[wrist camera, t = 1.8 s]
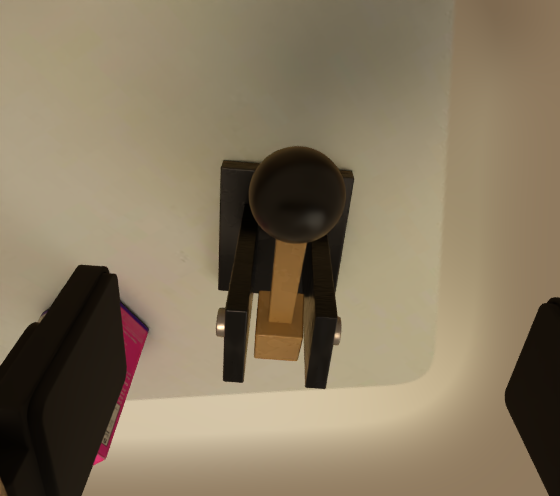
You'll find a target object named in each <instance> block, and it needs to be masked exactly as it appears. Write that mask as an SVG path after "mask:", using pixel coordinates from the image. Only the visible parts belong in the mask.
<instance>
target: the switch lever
mask: <svg viewBox="0 0 560 496" xmlns="http://www.w3.org/2000/svg"><path fill="white" fill-rule="evenodd" d="M345 201H346V190H345V184H344V180H343V177H342V175H341V173H340V171H339V169H338V168H337V166H336V165H335V164H334V162H333V161H332V160H331V159H330V158H328V157H327V156H326V155H325V154H323V153H321V152H319V151H317V150H315V149H312V148H308V147H303V146H292V147H287V148H283V149H280V150H277V151H275V152H274V153H272V154H271V155H269V156H268V157H266V158H265V159H264V160H263V161H262V162H261V163H260V165H259V166H258V167H257V169H256V170H255V172H254V174H253V176H252V179H251V182H250V187H249V204H250V208H251V211H252V214H253V216H254V218H255V220H256V222H257V223H258V225H259V226H260V227H261V228H262V229H263V230H264V231H265V232H266V233H267V234H269V235H270V236H272V237H273V238H275V239H276V242H275V252H274V263H273V273H272V283H271V291H259V296H258V308H257V319H256V331H255V348H254V358H261V359H274V360H288V361H297V360H298V356H299V352H300V348H301V344H302V340H303V319H304V294H299V293H298V287H299V282H300V277H301V271H302V266H303V260H304V255H305V250H306V244H307V243H309V242H312V241H315V240H317V239H319V238H321V237H323V236H324V235H326V234H327V233H328V232H329V231H331V229H332V228H333V227H334V226H335V225H336V224H337V222H338V221H339V219H340V217H341V215H342V212H343V210H344V206H345Z"/></svg>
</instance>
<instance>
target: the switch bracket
mask: <svg viewBox="0 0 560 496" xmlns="http://www.w3.org/2000/svg"><path fill="white" fill-rule="evenodd" d="M259 165H260V163H248V162H236V161H223V163H222V166H221V184H220V231H219V278H218V290H223V291H228V297H227V302H226V307H225V308H219V310H218V315H217V324H216V335H217V336H218V337H224V361H223V381H225V382H239V383H243V381H244V373H245V364H246V355H247V346H248V337H249V328H250V319H251V310H252V301H253V293H259V291H271V283H272V273H273V263H274V252H275V242H276V239H275V238H273V237H272V236H270V235H269V234H267V233H266V232H265V231H264V230H263V229H262V228H261V227H260V226H259V225H258V223H257V222H256V220H255V218H254V216H253V214H252V211H251V208H250V204H249V187H250V182H251V179H252V176H253V174H254V172H255V170H256V169H257V167H258V166H259ZM339 171H340V173H341V175H342V177H343V180H344V184H345V190H346V201H345V206H344V210H343V212H342V215H341V217H340V219H339V221H338V222H337V224H336V225H335V226H334V227H333V228H332V229H331V231H329V232H328V233H327V234H326V235H324V236H323V237H321V238H319V239H317V240H315V241H312V242H309V243H307V244H306V250H305V255H304V260H303V266H302V271H301V277H300V282H299V287H298V293H299V294H304V319H303V329H304V362H305V387H306V388H319V389H325V388H326V384H327V378H328V372H329V366H330V361H331V355H332V349H333V345H339V343H340V338H341V319H340V317H338V316H337V307H336V299H335V292H336V286H337V280H338V274H339V268H340V262H341V256H342V250H343V243H344V237H345V231H346V225H347V219H348V213H349V207H350V201H351V195H352V189H353V183H354V176H353V173H352V171H346V170H339Z"/></svg>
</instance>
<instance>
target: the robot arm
mask: <svg viewBox="0 0 560 496" xmlns="http://www.w3.org/2000/svg"><path fill="white" fill-rule="evenodd" d="M126 372H127V364H126V354H125V344H124V335H123V325H122V316H121V306H120V297H119V287H118V279H117V275H116V274H111V273H109V270H108V268H107V267H105V266H91V265H79V266H78V267H77V268H76V269H75V271H74V272H73V274H72V275H71V277H70V278H69V280H68V281H67V283H66V284H65V286H64V287H63V289H62V290H61V292H60V293H59V295H58V296H57V298H56V299H55V301H54V302H53V304H52V305H51V307H50V308H49V310H48V311H47V313H46V314H45V316H44V317H43V319H42V320H41V322H40V323H39V322H34V323H32V324H30V325H29V326H28V327H27V328H26V330H25V331H24V332H23V334H22V335H21V337H20V338H19V340H18V341H17V343H16V344H15V345H14V347H13V348H12V350H11V351H10V353H9V354H8V355H7V357H6V358H5V360H4V361H3V363H2V364H1V366H0V496H81V495H82V493H83V490H84V487H85V485H86V482H87V480H88V477H89V474H90V472H91V469H92V467H93V464H94V461H95V459H96V456H97V453H98V451H99V448H100V446H101V443H102V440H103V438H104V435H105V432H106V430H107V427H108V424H109V422H110V419H111V417H112V414H113V411H114V409H115V406H116V403H117V401H118V398H119V396H120V393H121V390H122V388H123V385H124V382H125V378H126ZM505 403H506V406H507V409H508V411H509V413H510V415H511V417H512V419H513V421H514V424H515V425H516V428H517V430H518V432H519V434H520V436H521V438H522V440H523V442H524V444H525V446H526V448H527V451H528V453H529V455H530V457H531V459H532V461H533V463H534V465H535V467H536V469H537V472H538V473H539V476H540V478H541V480H542V482H543V484H544V486H545V488H546V490H547V492H548V494H549V496H560V298H556V297H554V298H551V299H550V300H549V301H548V302H547V303H544V304H542V305H541V306H540V307H539V309H538V312H537V314H536V317H535V319H534V322H533V324H532V326H531V329H530V331H529V334H528V337H527V339H526V341H525V344H524V346H523V349H522V351H521V353H520V356H519V358H518V361H517V363H516V366H515V368H514V371H513V373H512V376H511V378H510V381H509V383H508V386H507V388H506V391H505Z"/></svg>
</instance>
